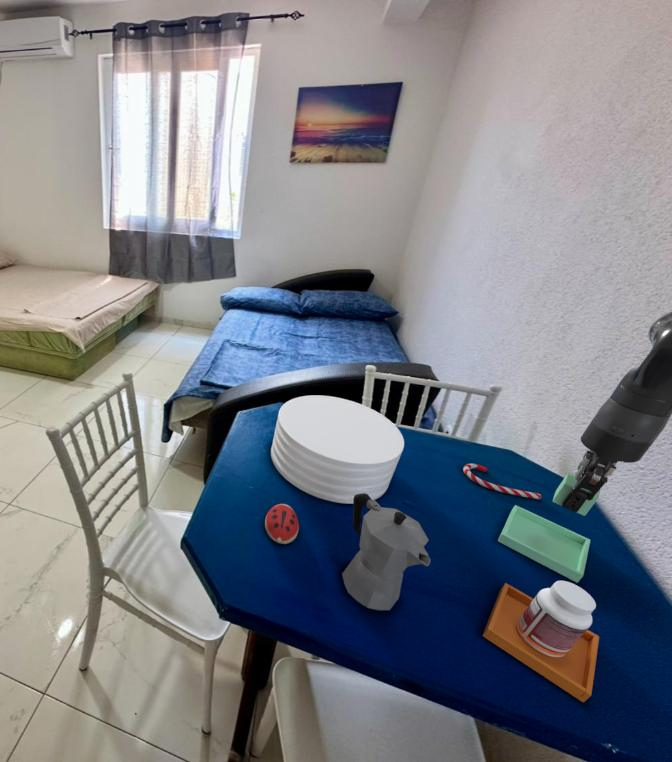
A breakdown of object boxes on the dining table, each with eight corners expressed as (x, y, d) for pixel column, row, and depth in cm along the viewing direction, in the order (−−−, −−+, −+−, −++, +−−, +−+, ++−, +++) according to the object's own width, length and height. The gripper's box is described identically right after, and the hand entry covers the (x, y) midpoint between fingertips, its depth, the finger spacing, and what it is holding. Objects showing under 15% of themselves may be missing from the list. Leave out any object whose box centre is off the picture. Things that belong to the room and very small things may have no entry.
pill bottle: (575, 656, 62) (616, 613, 57) (541, 661, 62) (579, 618, 56) (537, 616, 68) (571, 574, 63) (505, 621, 67) (537, 578, 62)
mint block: (587, 504, 76) (601, 485, 74) (584, 516, 74) (598, 497, 71) (555, 490, 79) (568, 472, 77) (552, 501, 77) (564, 483, 74)
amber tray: (592, 643, 65) (599, 636, 64) (583, 703, 58) (591, 695, 57) (500, 590, 73) (505, 582, 72) (482, 636, 65) (487, 628, 64)
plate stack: (282, 420, 119) (289, 385, 113) (388, 448, 108) (402, 412, 103) (259, 478, 96) (266, 439, 91) (389, 521, 86) (407, 480, 80)
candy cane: (543, 503, 90) (463, 475, 98) (540, 507, 91) (461, 479, 98) (540, 484, 96) (464, 459, 103) (537, 488, 97) (462, 463, 104)
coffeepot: (420, 615, 68) (461, 541, 59) (373, 630, 66) (410, 555, 57) (357, 541, 81) (384, 472, 72) (316, 551, 79) (339, 481, 70)
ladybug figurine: (298, 514, 87) (301, 502, 85) (297, 551, 78) (300, 539, 77) (266, 506, 88) (269, 494, 87) (262, 542, 80) (264, 529, 78)
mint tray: (584, 546, 82) (590, 539, 81) (577, 583, 74) (583, 575, 73) (510, 511, 90) (515, 504, 89) (497, 541, 82) (502, 534, 81)
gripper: (655, 456, 61) (593, 534, 70) (656, 422, 70) (601, 495, 78) (589, 433, 66) (538, 509, 74) (597, 404, 75) (551, 475, 83)
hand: (571, 501), depth 76 cm, fingers closed on mint block, 4 cm apart
